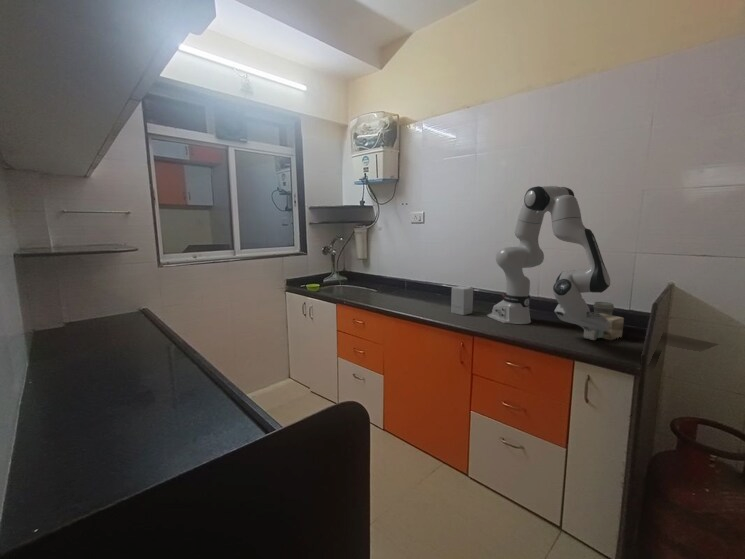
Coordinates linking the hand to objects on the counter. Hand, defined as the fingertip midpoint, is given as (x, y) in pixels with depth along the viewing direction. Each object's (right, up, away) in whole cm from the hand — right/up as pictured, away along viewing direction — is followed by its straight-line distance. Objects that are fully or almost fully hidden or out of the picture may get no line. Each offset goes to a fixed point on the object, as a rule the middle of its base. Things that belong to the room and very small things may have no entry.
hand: (588, 329), depth 148 cm
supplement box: (-42, +2, +49) cm, 65 cm away
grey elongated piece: (+9, -4, +5) cm, 11 cm away
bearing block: (+11, -4, +7) cm, 14 cm away
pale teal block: (+4, -3, +3) cm, 6 cm away
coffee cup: (+19, -2, +19) cm, 27 cm away
